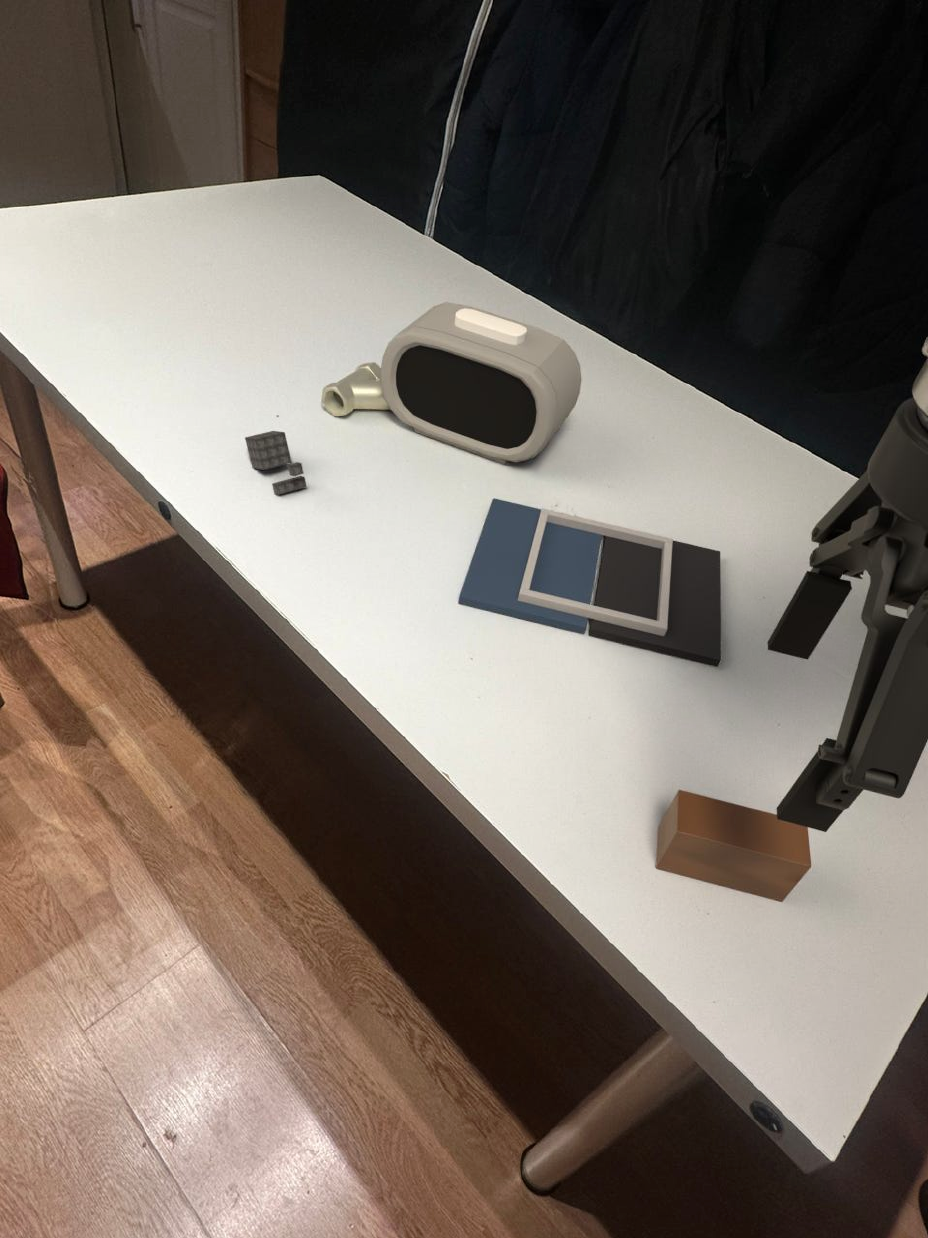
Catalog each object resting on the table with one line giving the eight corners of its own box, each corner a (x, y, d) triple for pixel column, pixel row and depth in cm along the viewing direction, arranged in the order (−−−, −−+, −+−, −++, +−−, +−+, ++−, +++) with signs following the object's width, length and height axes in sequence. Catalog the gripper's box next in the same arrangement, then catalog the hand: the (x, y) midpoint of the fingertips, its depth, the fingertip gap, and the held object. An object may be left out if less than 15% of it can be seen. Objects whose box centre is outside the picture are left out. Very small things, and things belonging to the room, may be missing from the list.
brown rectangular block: (779, 859, 60) (807, 822, 57) (782, 902, 58) (812, 867, 54) (658, 827, 61) (678, 789, 57) (655, 869, 58) (677, 831, 55)
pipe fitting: (406, 407, 99) (360, 384, 101) (411, 379, 96) (364, 355, 98) (368, 435, 94) (320, 410, 96) (371, 405, 91) (323, 380, 93)
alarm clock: (375, 422, 95) (381, 310, 86) (413, 389, 102) (422, 281, 93) (538, 482, 91) (564, 370, 81) (567, 443, 97) (593, 335, 88)
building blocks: (273, 430, 87) (304, 434, 80) (285, 481, 89) (316, 489, 82) (244, 437, 85) (274, 441, 79) (257, 489, 87) (287, 497, 81)
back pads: (717, 558, 85) (723, 543, 83) (717, 667, 73) (725, 652, 72) (491, 505, 87) (494, 489, 85) (457, 604, 75) (460, 587, 74)
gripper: (868, 298, 45) (731, 584, 60) (963, 589, 27) (735, 893, 42) (1008, 328, 44) (834, 609, 59) (1198, 646, 27) (882, 934, 41)
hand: (793, 727), depth 51 cm, fingers open, 13 cm apart
